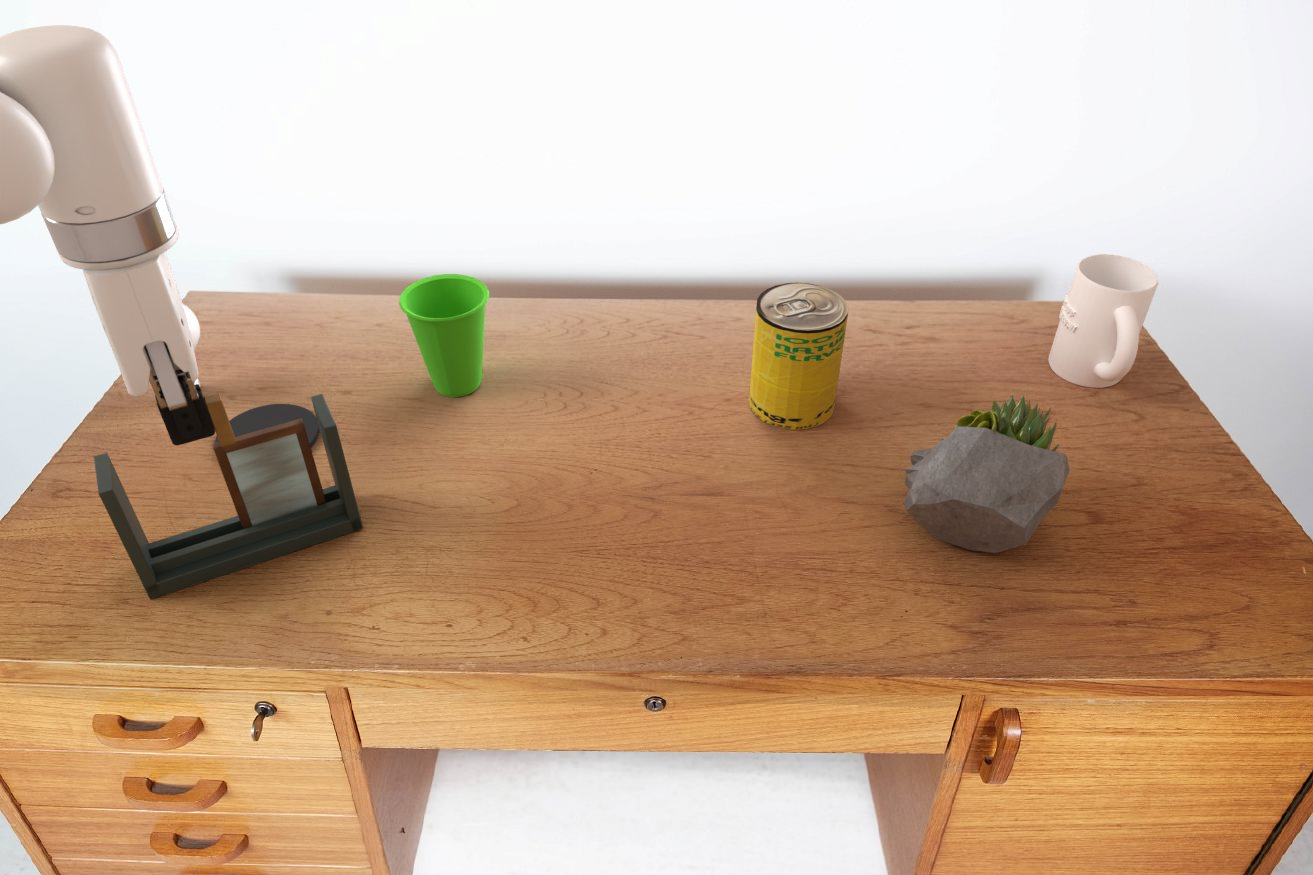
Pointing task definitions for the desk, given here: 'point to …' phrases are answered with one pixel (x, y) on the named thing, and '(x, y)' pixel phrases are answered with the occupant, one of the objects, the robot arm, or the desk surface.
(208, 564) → the window frame
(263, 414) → the coaster
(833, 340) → the beverage can
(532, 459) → the desk surface
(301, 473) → the window sash
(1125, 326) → the mug
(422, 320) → the cup
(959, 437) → the potted plant
